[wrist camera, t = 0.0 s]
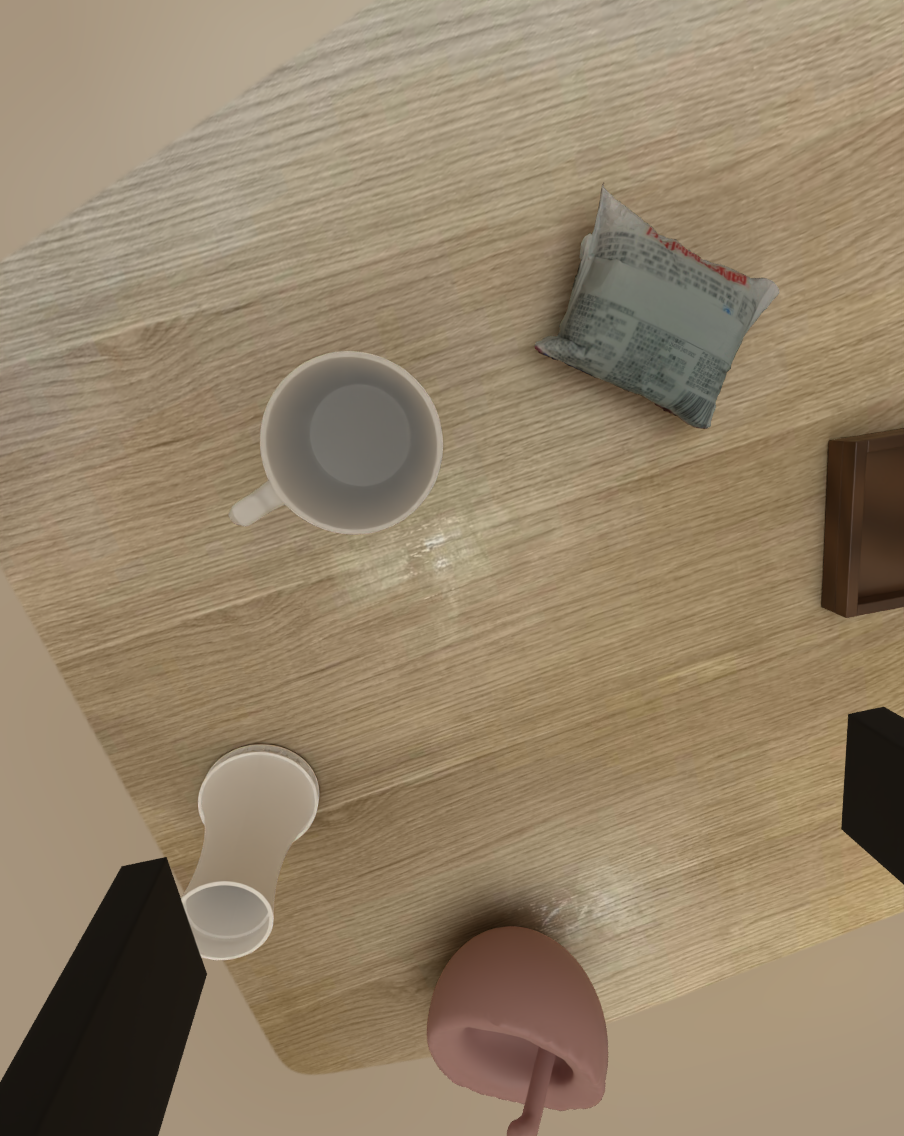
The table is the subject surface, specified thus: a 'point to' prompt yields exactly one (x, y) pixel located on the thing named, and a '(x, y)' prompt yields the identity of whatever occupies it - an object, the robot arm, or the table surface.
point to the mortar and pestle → (520, 1025)
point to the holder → (864, 524)
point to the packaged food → (655, 315)
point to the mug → (346, 445)
